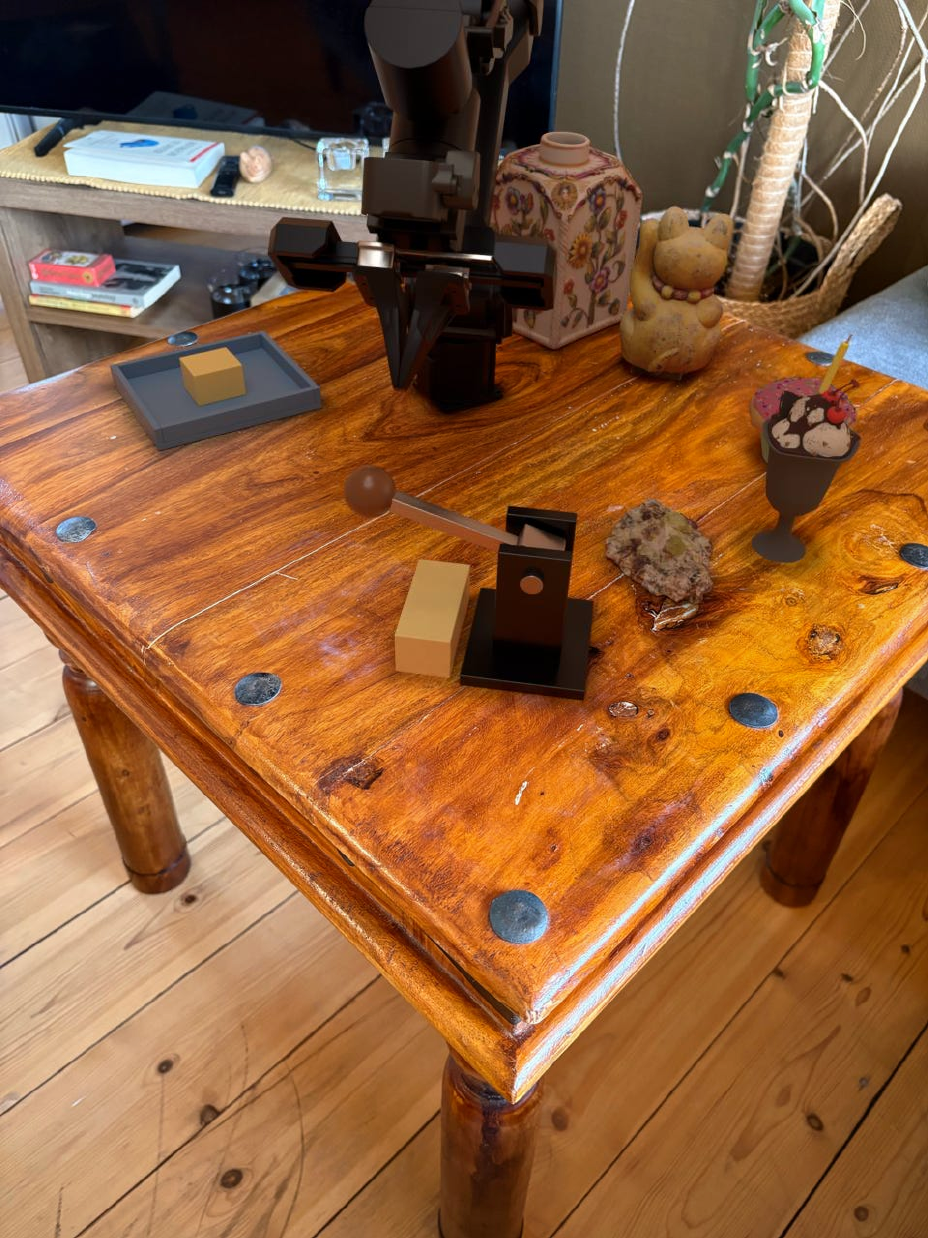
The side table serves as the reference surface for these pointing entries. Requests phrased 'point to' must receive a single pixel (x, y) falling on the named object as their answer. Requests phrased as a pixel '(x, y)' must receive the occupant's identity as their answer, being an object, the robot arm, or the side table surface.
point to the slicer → (531, 617)
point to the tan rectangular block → (432, 618)
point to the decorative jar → (572, 231)
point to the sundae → (802, 464)
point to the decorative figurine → (675, 295)
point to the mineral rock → (662, 551)
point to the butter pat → (212, 376)
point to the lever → (432, 513)
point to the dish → (181, 420)
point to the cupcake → (770, 394)
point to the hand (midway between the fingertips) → (399, 389)
